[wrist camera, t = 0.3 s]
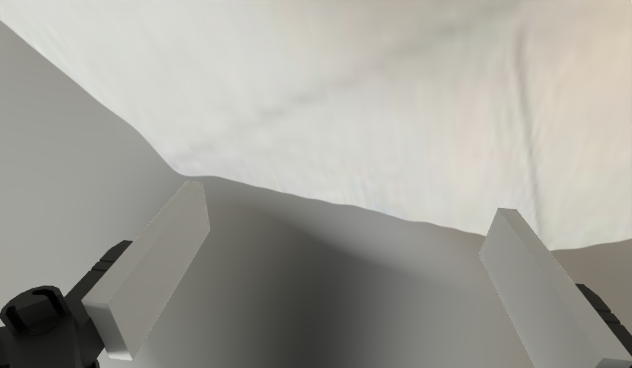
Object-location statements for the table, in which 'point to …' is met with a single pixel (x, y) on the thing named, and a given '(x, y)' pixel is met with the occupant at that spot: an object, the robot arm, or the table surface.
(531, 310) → the robot arm
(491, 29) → the table surface
